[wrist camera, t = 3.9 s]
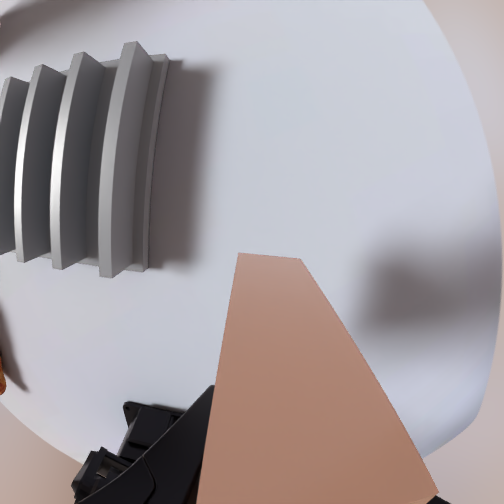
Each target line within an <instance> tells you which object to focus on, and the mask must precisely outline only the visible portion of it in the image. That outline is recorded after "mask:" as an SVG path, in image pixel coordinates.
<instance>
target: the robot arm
mask: <svg viewBox="0 0 504 504" xmlns="http://www.w3.org/2000/svg"><path fill="white" fill-rule="evenodd" d="M214 388H215V385H210V386H209V387H208V388H207V389H206V391H205V392H204V393H203V394H202V395H201V396H200V397H199V398H198V399H197V400H196V401H195V402H194V403H193V405H192V406H191V407H190V408H189V409H188V410H187V411H186V412H185V413H184V414H183V413H177V412H171V411H166V410H161V409H156V408H151V407H147V406H143V405H138V404H134V403H130V402H125V403H124V405H123V410H124V414H125V417H126V421H127V425H128V431H127V433H126V435H125V437H124V440H123V442H122V444H121V446H120V449H119V451H118V453H117V455H115V454H113V453H111V452H109V451H107V449H105V448H103V447H101V448H100V450H99V452H98V451H97V452H96V451H91V452H90V454H89V456H88V458H87V459H86V461H85V463H84V465H83V467H82V468H81V470H80V471H79V473H78V474H77V476H76V477H75V479H74V480H73V482H72V485H71V487H72V488H73V491H74V493H75V496H74V498H75V499H76V500H75V503H74V504H196V502H197V495H198V489H199V482H200V475H201V469H202V462H203V456H204V450H205V443H206V437H207V431H208V425H209V418H210V412H211V406H212V400H213V394H214ZM98 473H99V474H98ZM100 474H101V475H103V476H105V477H106V478H105V477H103V476H101V475H100ZM426 504H450V503H449V502H447V501H445V500H443V499H441V498H440V497H438V496H436V495H435V496H434V497H433V498H432V499H431V500H430V501H429V502H428V503H426Z"/></svg>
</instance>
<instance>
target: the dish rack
mask: <svg viewBox="0 0 504 504" xmlns="http://www.w3.org/2000/svg"><path fill="white" fill-rule="evenodd" d="M168 65H169V58H168V57H167V55H166V54H159V55H148V54H147V52H146V51H145V50H144V49H143V48H142V46H141V45H140V44H139V43H138V42H137V41H136V42H129V43H124V46H123V49H122V53H121V57H120V59H117V60H111V61H105V62H100V63H99V62H98V61H96V60H95V59H94V58H92V57H91V56H89V55H88V54H87V53H85V52H81V53H77V54H74V55H73V59H72V62H71V65H70V69H69V70H65V71H61V72H58V71H56V70H54V69H52V68H50V67H48V66H46V65H44V64H41V65H39V66H36V67H35V68H34V71H33V75H32V78H31V81H30V82H25V81H22V80H19V79H17V78H14V77H9V78H7V79H5V81H4V85H3V89H2V92H1V96H0V255H2V254H4V253H7V252H10V251H11V252H14V253H16V255H17V261H18V262H23V263H25V262H27V261H29V260H32V259H34V258H37V257H42V258H48V259H52V267H53V268H54V269H59V270H63V269H65V268H67V267H69V266H71V265H73V264H75V263H80V264H86V265H93V266H99V273H100V277H106V278H113V277H115V276H116V275H117V274H119V273H120V272H122V271H123V270H128V271H136V272H144V271H145V270H146V269H148V244H149V216H150V198H151V184H152V173H153V162H154V153H155V144H156V136H157V129H158V122H159V115H160V108H161V102H162V96H163V91H164V85H165V80H166V75H167V70H168Z"/></svg>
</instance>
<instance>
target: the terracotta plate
mask: <svg viewBox="0 0 504 504" xmlns="http://www.w3.org/2000/svg"><path fill="white" fill-rule="evenodd" d="M438 492H439V491H438V489H437V487H436V486H435V483H434V481H433V479H432V477H431V475H430V474H429V472H428V470H427V468H426V466H425V464H424V462H423V460H422V458H421V456H420V455H419V453H418V451H417V449H416V447H415V445H414V443H413V442H412V440H411V438H410V436H409V434H408V433H407V431H406V429H405V427H404V425H403V424H402V422H401V420H400V418H399V417H398V415H397V413H396V411H395V410H394V408H393V406H392V404H391V403H390V401H389V399H388V397H387V396H386V394H385V392H384V391H383V389H382V387H381V385H380V384H379V382H378V380H377V379H376V377H375V375H374V374H373V372H372V370H371V369H370V367H369V365H368V364H367V362H366V360H365V359H364V357H363V355H362V354H361V352H360V351H359V349H358V347H357V346H356V344H355V342H354V341H353V339H352V338H351V336H350V334H349V333H348V331H347V330H346V328H345V326H344V325H343V323H342V322H341V320H340V319H339V317H338V315H337V314H336V312H335V311H334V309H333V308H332V306H331V304H330V303H329V301H328V300H327V298H326V297H325V295H324V294H323V292H322V291H321V289H320V287H319V286H318V284H317V283H316V281H315V280H314V278H313V277H312V275H311V274H310V272H309V271H308V269H307V268H306V266H305V265H304V263H303V262H302V260H301V259H297V258H287V257H277V256H267V255H257V254H247V253H238V258H237V264H236V269H235V274H234V280H233V285H232V291H231V296H230V302H229V307H228V313H227V319H226V324H225V330H224V336H223V341H222V347H221V353H220V359H219V365H218V370H217V376H216V382H215V388H214V394H213V400H212V406H211V412H210V418H209V425H208V431H207V437H206V443H205V450H204V456H203V462H202V469H201V475H200V482H199V489H198V495H197V502H196V504H426V503H428V502H429V501H430V500H431V499H432V498H433V497H434V496H435V495H436V494H437V493H438Z"/></svg>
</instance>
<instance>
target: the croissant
mask: <svg viewBox="0 0 504 504" xmlns="http://www.w3.org/2000/svg"><path fill="white" fill-rule="evenodd" d="M5 389H6V380H5V377H4V374H3V369H2V367H1V356H0V395H2V394H3V393H4V392H5Z"/></svg>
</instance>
